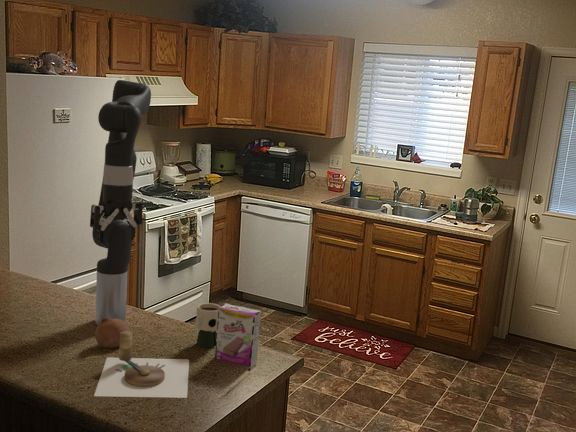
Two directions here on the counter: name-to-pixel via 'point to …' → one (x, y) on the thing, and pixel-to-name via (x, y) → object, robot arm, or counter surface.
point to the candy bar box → (237, 334)
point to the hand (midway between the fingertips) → (116, 242)
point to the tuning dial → (137, 373)
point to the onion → (110, 332)
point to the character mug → (207, 324)
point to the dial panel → (170, 387)
